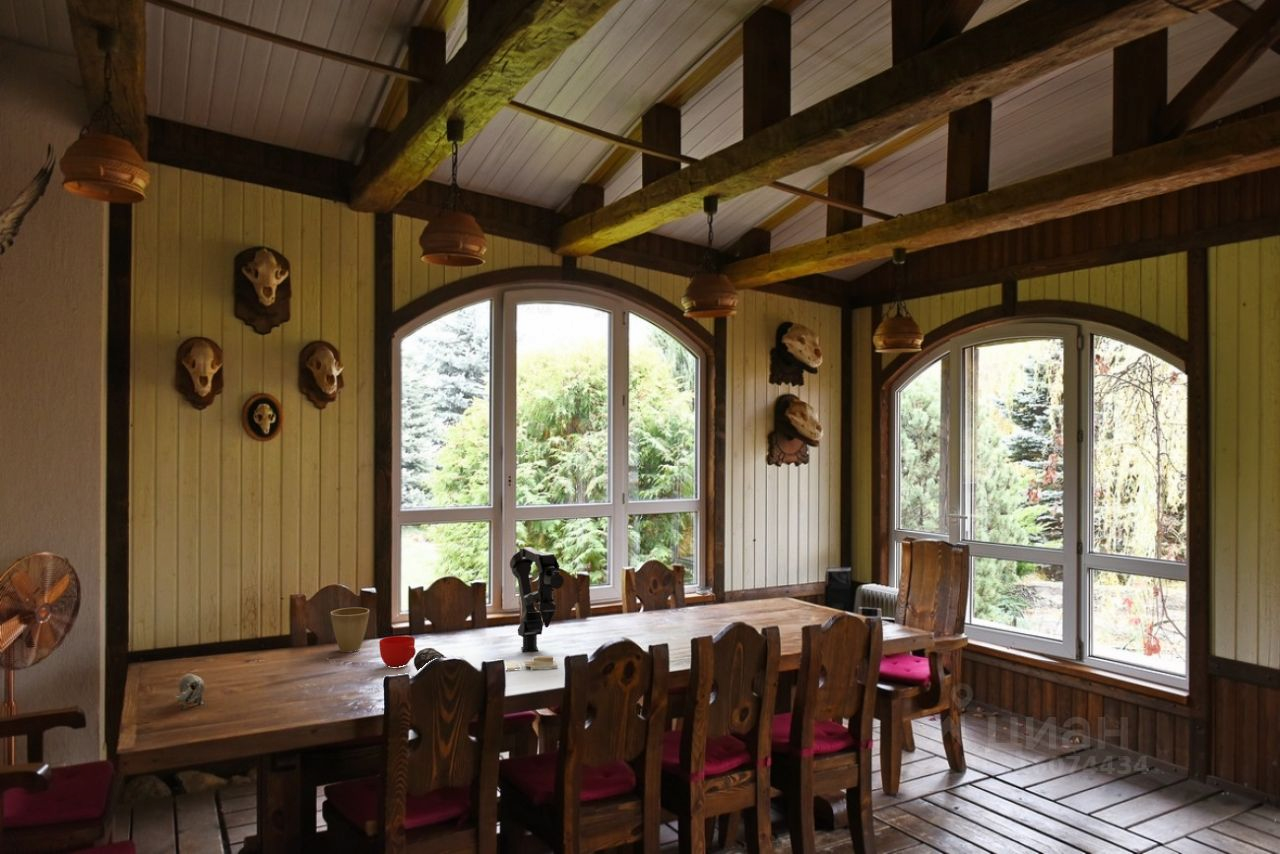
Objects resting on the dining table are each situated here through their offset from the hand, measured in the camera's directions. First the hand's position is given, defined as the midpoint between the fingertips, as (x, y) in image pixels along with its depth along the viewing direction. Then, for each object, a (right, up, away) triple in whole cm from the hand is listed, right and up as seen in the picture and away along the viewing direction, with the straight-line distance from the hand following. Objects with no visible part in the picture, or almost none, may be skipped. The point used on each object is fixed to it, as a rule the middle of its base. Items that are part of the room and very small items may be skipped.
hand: (545, 624), depth 326 cm
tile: (-13, -12, -12) cm, 22 cm away
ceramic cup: (-53, -13, -15) cm, 57 cm away
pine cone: (-37, -13, -28) cm, 48 cm away
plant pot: (-81, -13, +10) cm, 83 cm away
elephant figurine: (-107, -11, -62) cm, 124 cm away
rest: (+1, -13, -13) cm, 18 cm away
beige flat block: (-1, -11, -14) cm, 18 cm away
